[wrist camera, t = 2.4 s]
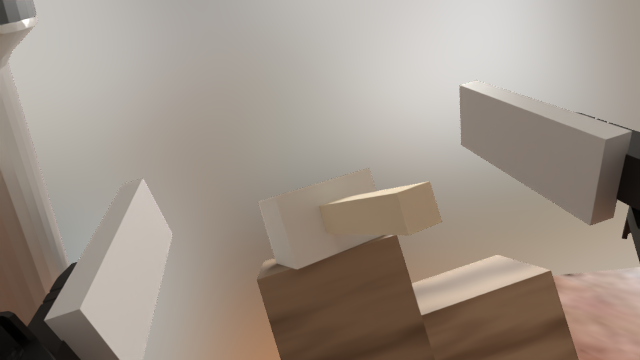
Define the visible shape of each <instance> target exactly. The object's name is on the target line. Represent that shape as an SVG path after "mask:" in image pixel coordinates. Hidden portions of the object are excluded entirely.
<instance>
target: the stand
mask: <svg viewBox="0 0 640 360" xmlns="http://www.w3.org/2000/svg"><path fill="white" fill-rule="evenodd" d="M257 282H258V285H259V288H260V292H261V295H262V298H263V302H264V305H265V308H266V312H267V315H268V318H269V322H270V325H271V328H272V332H273V335H274V338H275V342H276V345H277V348H278V352H279V355H280V358H281V360H579V359H578V356H577V353H576V350H575V347H574V343H573V340H572V337H571V334H570V331H569V327H568V324H567V321H566V318H565V314H564V311H563V308H562V305H561V302H560V298H559V295H558V292H557V289H556V286H555V282H554V279H553V276H552V273H551V271H550V270H548V269H544V268H541V267H537V266H534V265H531V264H527V263H524V262H521V261H517V260H514V259H510V258H507V257H503V256H500V255H495V256H492V257H489V258H486V259H483V260H480V261H477V262H474V263H472V264H469V265H466V266H463V267H460V268H457V269H454V270H451V271H448V272H445V273H442V274H439V275H436V276H433V277H430V278H427V279H424V280H421V281H418V282H416V283H411V280H410V277H409V273H408V270H407V267H406V264H405V260H404V257H403V254H402V251H401V247H400V244H399V241H398V238H397V235H382V236H380V237H377V238H375V239H372V240H370V241H367V242H365V243H362V244H360V245H357V246H355V247H352V248H350V249H347V250H345V251H342V252H340V253H337V254H335V255H332V256H330V257H327V258H325V259H322V260H320V261H317V262H315V263H312V264H310V265H307V266H305V267H303V268H300V269H298V270H297V269H294V268H290V267H287V266H284V265H280V264H277V263H276V261H275V258H273V259H270V260H267V261H264V262H263V265H262V268H261V271H260V273H259V276H258V278H257Z"/></svg>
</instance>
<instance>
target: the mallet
mask: <svg viewBox="0 0 640 360" xmlns="http://www.w3.org/2000/svg"><path fill="white" fill-rule="evenodd" d="M258 204H259V208H260V211H261V214H262V218H263V220H264V224H265V228H266V231H267V234H268V238H269V241H270V244H271V247H272V251H273V254H274V257H275V261H276V263H277V264H280V265H284V266H287V267H290V268H294V269H297V270H298V269H300V268H303V267H305V266H307V265H310V264H312V263H315V262H317V261H320V260H322V259H325V258H327V257H330V256H332V255H335V254H337V253H340V252H342V251H345V250H347V249H350V248H352V247H355V246H357V245H360V244H362V243H365V242H367V241H370V240H372V239H375V238H377V237H380V236H382V235H412V234H414V233H416V232H419V231H421V230H424V229H426V228H428V227H431V226H433V225H436V224H438V223H440V222H442V220H441V216H440V213H439V210H438V207H437V203H436V200H435V197H434V194H433V190H432V187H431V184H430V182H423V183H418V184H413V185H408V186H402V187H397V188H392V189H386V190H381V191H376V188H375V184H374V181H373V178H372V175H371V171H370V169H369V168H367V169H363V170H360V171H356V172H353V173H350V174H347V175H343V176H340V177H337V178H334V179H330V180H327V181H323V182H320V183H317V184H313V185H310V186H307V187H303V188H300V189H297V190H294V191H290V192H287V193H283V194H281V195H277V196H274V197H271V198H267V199H264V200H262V201H259V202H258Z"/></svg>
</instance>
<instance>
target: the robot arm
mask: <svg viewBox="0 0 640 360" xmlns="http://www.w3.org/2000/svg"><path fill="white" fill-rule="evenodd" d="M37 21H38V20H37V14H36V11H35V7H34V2H33V0H0V360H143V357H144V352H145V348H146V344H147V340H148V336H149V331H150V327H151V323H152V318H153V315H154V311H155V306H156V302H157V298H158V294H159V290H160V286H161V281H162V277H163V273H164V269H165V264H166V260H167V256H168V252H169V248H170V244H171V240H172V235H173V234H172V232H171V230H170V228H169V226H168V225H167V223H166V221H165V219H164V217H163V215H162V213H161V211H160V209H159V208H158V206H157V204H156V202H155V200H154V198H153V196H152V194H151V192H150V190H149V189H148V187H147V185H146V183H145V181H144V179H143V178H141V179H138V180H135V181H131V182H128V183H124V184H122V186H121V188H120V189H119V191H118V193H117V195H116V196H115V198H114V200H113V202H112V203H111V205H110V207H109V208H108V210H107V212H106V214H105V215H104V217H103V219H102V221H101V222H100V224H99V226H98V228H97V229H96V231H95V233H94V234H93V236H92V238H91V240H90V241H89V243H88V245H87V247H86V249H85V250H84V252H83V254H82V255H81V257H80V259H79V260H78V262H76V263H73V264H71V265H69V262H68V258H67V255H66V252H65V249H64V245H63V242H62V238H61V235H60V232H59V229H58V225H57V222H56V219H55V215H54V212H53V209H52V205H51V202H50V199H49V195H48V192H47V189H46V186H45V183H44V179H43V176H42V173H41V169H40V166H39V162H38V159H37V156H36V152H35V149H34V146H33V142H32V139H31V136H30V133H29V129H28V126H27V123H26V120H25V116H24V113H23V109H22V106H21V103H20V100H19V96H18V93H17V90H16V86H15V83H14V80H13V76H12V73H11V70H10V66H9V63H8V59H9V57H10V55H11V53H12V51H13V49H14V48H15V47H16V46H17V45H18V44H19V43H20V41H22V40H23V38H24V37H25V36H26V35H27V34H28V33H29V32H30V30H32V28H33V27H34V26H35V25H36V24H37ZM460 114H461V115H460V118H461V145H462V146H464V147H466V148H467V149H469V150H470V151H472V152H473V153H475V154H477V155H478V156H480V157H481V158H483V159H485V160H486V161H488V162H489V163H491V164H493V165H494V166H496V167H497V168H499V169H501V170H502V171H504V172H506V173H507V174H509V175H510V176H512V177H513V178H515V179H517V180H518V181H520V182H521V183H523V184H525V185H526V186H528V187H529V188H531V189H532V190H534V191H536V192H537V193H539V194H540V195H542V196H544V197H545V198H547V199H548V200H550V201H552V202H553V203H555V204H557V205H558V206H560V207H561V208H563V209H564V210H566V211H567V212H569V213H571V214H572V215H574V216H575V217H577V218H579V219H580V220H582V221H584V222H585V223H587V224H588V225H593V224H596V223H599V222H602V221H604V220H608V219H611V218H613V216H614V212H615V207H616V203H617V199H618V200H620V201H621V202H623V203H625V204H627V205H629V209H628V213H627V217H626V222H625V226H624V230H623V235H622V238H623V239H627V236H628V234H629V233H631V234H632V237H633V240H634V244H635V248H636V251H637V255H638V258H639V261H640V132H637V131H634V130H631V129H628V128H625V127H622V126H619V125H616V124H613V123H607V122H606V121H604V120H600V119H595V118H594V117H591V116H588V115H585V114H582V113H576V112H572V111H569V110H566V109H563V108H560V107H557V106H554V105H551V104H548V103H545V102H542V101H539V100H536V99H532V98H530V97H526V96H524V95H520V94H517V93H514V92H511V91H508V90H505V89H502V88H499V87H496V86H493V85H490V84H487V83H484V82H481V81H478V80H475V81H472V82H468V83H465V84H461V85H460Z"/></svg>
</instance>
